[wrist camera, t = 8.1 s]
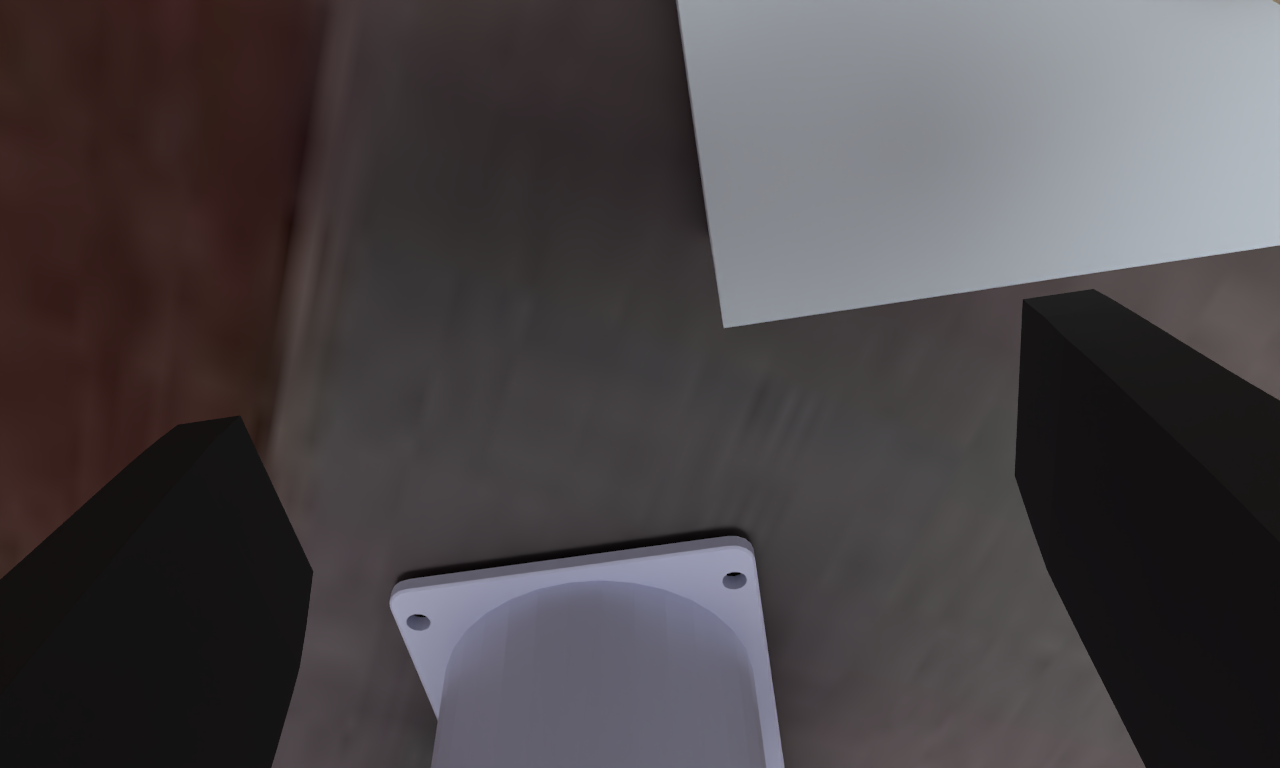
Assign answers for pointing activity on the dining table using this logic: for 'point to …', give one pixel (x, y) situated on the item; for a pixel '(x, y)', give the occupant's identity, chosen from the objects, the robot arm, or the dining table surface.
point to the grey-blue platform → (974, 142)
